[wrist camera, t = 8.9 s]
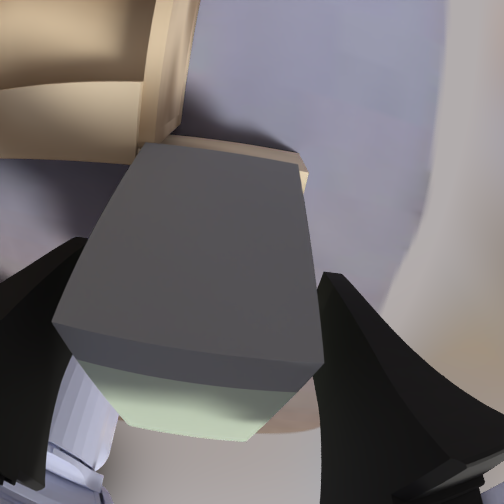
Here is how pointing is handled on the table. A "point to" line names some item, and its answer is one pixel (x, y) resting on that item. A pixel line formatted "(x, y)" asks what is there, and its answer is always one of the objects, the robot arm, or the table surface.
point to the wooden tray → (91, 76)
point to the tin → (197, 293)
